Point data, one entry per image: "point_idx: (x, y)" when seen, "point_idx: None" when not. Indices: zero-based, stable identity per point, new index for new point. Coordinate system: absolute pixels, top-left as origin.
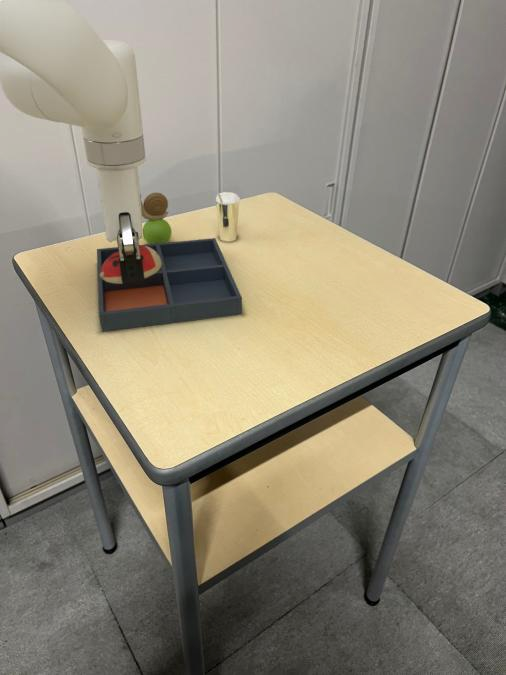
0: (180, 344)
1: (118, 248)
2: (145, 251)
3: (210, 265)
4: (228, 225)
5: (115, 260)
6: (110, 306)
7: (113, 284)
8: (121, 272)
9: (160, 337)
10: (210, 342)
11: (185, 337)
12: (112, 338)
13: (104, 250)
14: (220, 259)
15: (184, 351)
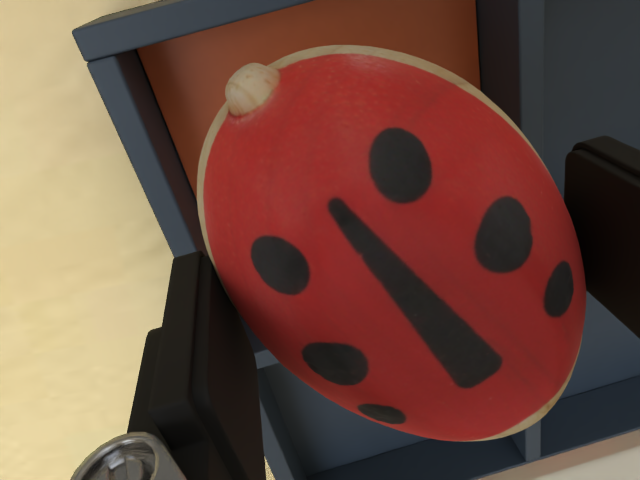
0: (86, 357)
1: (632, 172)
2: (458, 431)
3: (604, 366)
4: None
5: (312, 267)
6: (312, 25)
7: (495, 14)
8: (169, 316)
9: (116, 286)
10: (121, 433)
11: (135, 363)
12: (58, 86)
13: None
14: (583, 442)
15: (45, 376)
